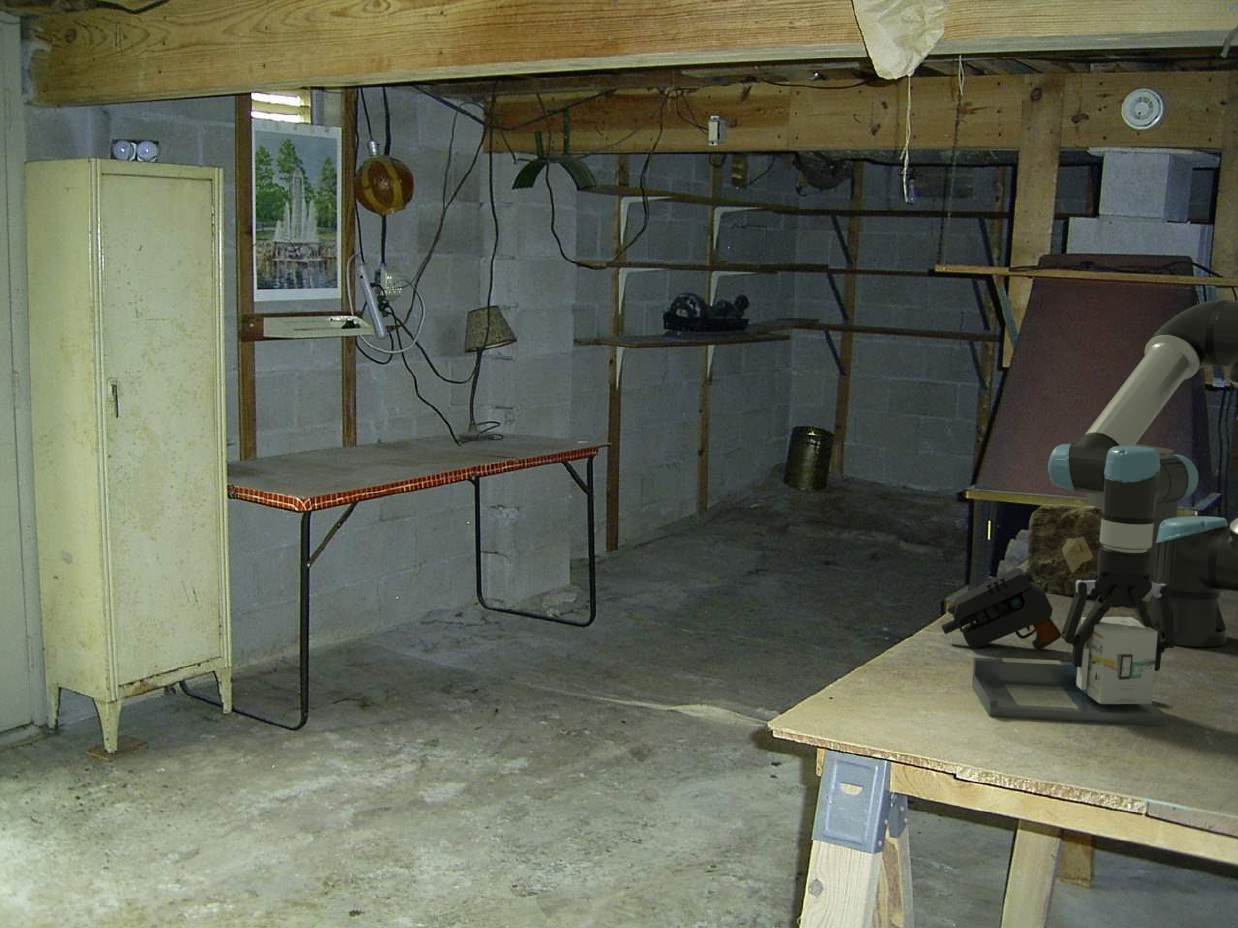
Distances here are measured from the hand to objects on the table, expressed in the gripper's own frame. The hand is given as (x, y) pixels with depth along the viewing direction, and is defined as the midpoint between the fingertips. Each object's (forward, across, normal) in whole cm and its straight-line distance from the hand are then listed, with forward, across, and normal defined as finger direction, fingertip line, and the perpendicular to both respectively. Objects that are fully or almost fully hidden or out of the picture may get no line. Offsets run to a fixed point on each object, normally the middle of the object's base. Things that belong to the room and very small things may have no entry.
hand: (1113, 688), depth 189 cm
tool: (+4, +10, -32) cm, 34 cm away
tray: (+3, +7, 0) cm, 8 cm away
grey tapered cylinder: (+4, -34, -106) cm, 111 cm away
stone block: (+4, -14, -78) cm, 79 cm away
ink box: (+1, 0, 0) cm, 1 cm away
